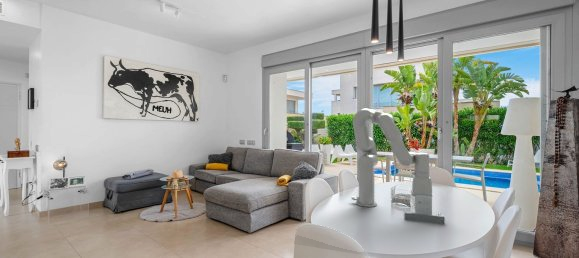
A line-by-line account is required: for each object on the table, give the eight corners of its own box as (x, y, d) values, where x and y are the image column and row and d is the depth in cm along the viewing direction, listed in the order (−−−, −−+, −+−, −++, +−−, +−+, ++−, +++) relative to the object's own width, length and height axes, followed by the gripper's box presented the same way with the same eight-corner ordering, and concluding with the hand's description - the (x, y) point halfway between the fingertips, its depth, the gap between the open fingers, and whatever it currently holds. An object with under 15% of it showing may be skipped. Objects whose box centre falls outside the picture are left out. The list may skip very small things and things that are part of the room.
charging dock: (404, 219, 146) (404, 212, 146) (404, 212, 159) (404, 206, 159) (444, 223, 140) (444, 216, 140) (440, 216, 152) (440, 209, 152)
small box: (429, 213, 156) (430, 195, 156) (432, 216, 150) (432, 197, 150) (414, 212, 158) (414, 194, 158) (416, 215, 152) (416, 196, 152)
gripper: (407, 175, 157) (407, 207, 157) (437, 176, 152) (437, 210, 152) (407, 172, 164) (407, 203, 164) (435, 174, 159) (435, 206, 159)
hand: (421, 206), depth 158 cm, fingers closed
